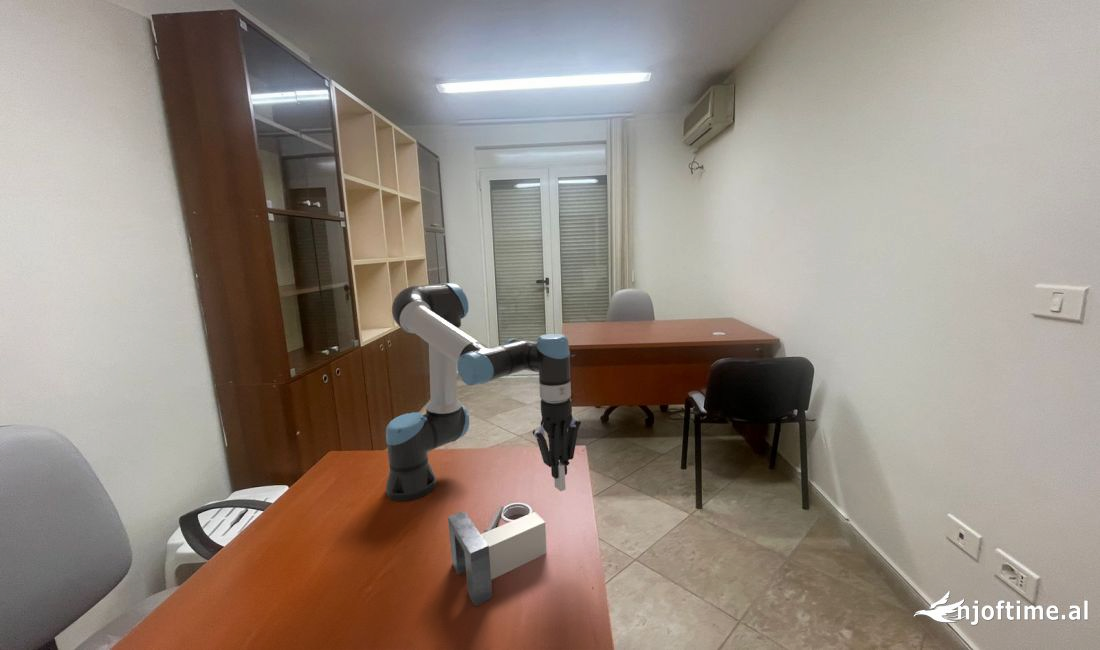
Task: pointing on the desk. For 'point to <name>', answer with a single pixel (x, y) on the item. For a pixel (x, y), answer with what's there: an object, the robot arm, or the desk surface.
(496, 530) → the plug
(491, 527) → the caliper
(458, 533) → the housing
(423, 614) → the desk surface
